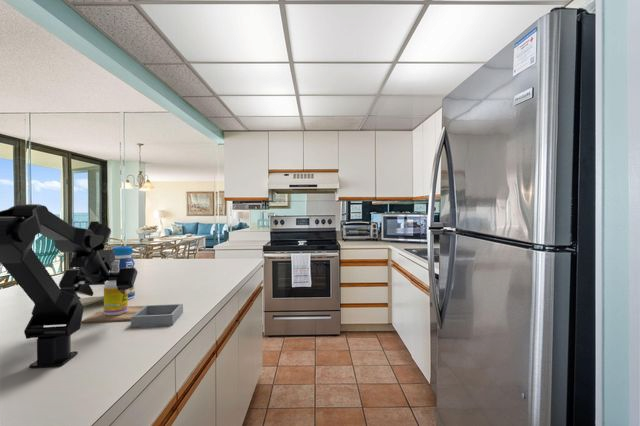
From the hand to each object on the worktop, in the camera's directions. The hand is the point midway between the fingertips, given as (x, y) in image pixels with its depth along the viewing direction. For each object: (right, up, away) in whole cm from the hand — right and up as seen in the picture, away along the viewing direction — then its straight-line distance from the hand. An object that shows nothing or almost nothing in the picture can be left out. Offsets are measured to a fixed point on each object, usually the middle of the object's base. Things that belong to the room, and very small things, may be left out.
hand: (108, 293), depth 100 cm
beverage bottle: (-11, -8, +26) cm, 29 cm away
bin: (+15, -8, +1) cm, 17 cm away
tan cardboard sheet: (-1, -8, +6) cm, 10 cm away
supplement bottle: (-1, -8, +6) cm, 10 cm away
